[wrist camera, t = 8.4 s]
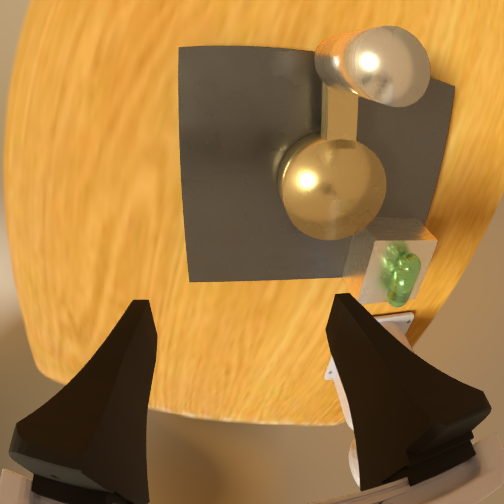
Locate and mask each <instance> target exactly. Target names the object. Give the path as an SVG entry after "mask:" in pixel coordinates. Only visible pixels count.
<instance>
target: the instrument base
mask: <svg viewBox="0 0 504 504" xmlns="http://www.w3.org/2000/svg"><path fill="white" fill-rule="evenodd" d="M314 56H315V52H312V51H304V50H295V49H284V48H272V47H254V46H193V47H179V64H178V95H179V140H180V165H181V184H182V200H183V215H184V228H185V240H186V251H187V262H188V272H189V282H225V281H261V280H290V279H315V278H336V277H342V278H343V280H344V282H345V284H346V286H347V288H348V290H349V292H350V294H351V295H352V296H353V297H354V298H355V299H356V300H357V301H358V302H359V303H360V304H369V303H380V302H388V303H389V304H390V305H391V306H393V307H401V306H403V305H405V304H406V303H407V301H408V299H415V298H416V295H417V293H418V291H419V288H420V286H421V284H422V281H423V279H424V276H425V274H426V271H427V269H428V266H429V264H430V261H431V259H432V256H433V253H434V251H435V248H436V245H437V242H438V240H437V239H436V238H435V237H434V236H433V234H432V233H431V232H430V231H429V230H428V229H427V228H426V227H425V222H426V219H427V216H428V212H429V209H430V206H431V202H432V198H433V195H434V191H435V187H436V183H437V179H438V175H439V171H440V167H441V163H442V158H443V154H444V149H445V144H446V139H447V134H448V129H449V123H450V117H451V111H452V104H453V97H454V89H455V86H452V85H450V84H447V83H444V82H441V81H438V80H435V79H432V78H430V80H429V84H428V87H427V89H426V91H425V93H424V94H423V96H422V97H421V98H420V99H419V100H418V101H416V102H415V103H413V104H411V105H409V106H405V107H392V106H388V105H385V104H382V103H379V102H376V101H373V100H369V99H366V98H363V97H359V96H358V117H357V135H356V140H357V141H358V142H360V143H362V144H363V145H365V146H366V147H368V148H369V149H370V150H371V151H373V152H374V153H375V155H376V156H377V157H378V158H379V160H380V161H381V163H382V165H383V168H384V171H385V175H386V194H385V198H384V201H383V204H382V206H381V208H380V210H379V212H378V213H377V215H376V216H375V218H374V219H373V220H372V221H371V222H370V223H369V224H368V225H367V226H366V227H365V228H363V229H362V230H360V231H359V232H357V233H355V234H354V235H351V236H349V237H346V238H343V239H338V240H320V239H316V238H313V237H310V236H308V235H306V234H304V233H303V232H302V231H300V230H299V229H298V228H297V227H296V226H295V225H294V224H293V222H292V221H291V220H290V218H289V216H288V214H287V212H286V209H285V207H284V205H283V202H282V200H281V197H280V195H279V191H278V173H279V168H280V165H281V163H282V161H283V159H284V157H285V155H286V154H287V152H288V151H289V150H290V149H291V148H292V147H293V146H294V145H295V144H296V143H297V142H298V141H300V140H301V139H303V138H304V137H307V136H309V135H311V134H314V133H317V132H321V124H322V80H321V79H320V77H319V76H318V74H317V72H316V69H315V65H314Z"/></svg>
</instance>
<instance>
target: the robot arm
mask: <svg viewBox="0 0 504 504" xmlns="http://www.w3.org/2000/svg"><path fill="white" fill-rule="evenodd" d="M413 319H414V314H413V313H412V312H408V313H401V314H393V315H385V316H376V317H373V316H372V315H371V314H370V313H369V312H368V311H367V310H366V309H365V308H364V307H363V306H362V305H361V304H360V303H359V302H358V301H357V300H356V299H355V298H354V297H353V296H352V295H351V294H350V293H343V294H335V298H334V301H333V305H332V309H331V312H330V316H329V319H328V323H327V326H326V334H327V339H328V343H329V347H330V352H331V355H332V356H331V359H330V361H329V364H328V367H327V369H326V372H325V375H324V378H325V379H326V380H330V379H333V380H334V384H335V387H336V390H337V394H338V397H339V400H340V403H341V407H342V410H343V414H344V417H345V420H346V422H347V424H348V425H349V427H350V428H351V429H352V430H353V431H354V434H355V439H354V440H353V441H352V443H351V447H350V450H349V464H350V468H351V472H352V474H353V477H354V479H355V481H356V483H357V484H358V486H359V487H360V490H361V492H358V493H354V494H350V495H346V496H342V497H338V498H333V499H329V500H324V501H318V502H313V503H307V504H477V503H479V502H480V501H481V500H483V499H484V498H486V497H487V496H488V495H490V494H491V493H493V492H494V491H496V490H497V489H498V488H500V487H501V486H502V485H504V449H503V447H502V444H501V442H500V440H499V438H498V435H497V433H493V434H491V435H489V436H488V437H486V438H484V439H482V440H480V441H479V442H477V443H475V444H474V445H473V444H472V442H473V441H472V439H473V438H474V436H473V433H472V430H473V429H474V428H475V427H476V426H477V425H478V424H480V423H481V422H482V421H483V420H484V419H485V418H486V417H487V416H488V415H489V413H490V412H491V406H490V404H489V402H488V400H487V398H486V396H485V394H484V392H483V391H481V390H478V389H476V388H474V387H471V386H469V385H466V384H464V383H462V382H460V381H458V380H456V379H454V378H452V377H450V376H448V375H447V374H445V373H443V372H441V371H440V370H438V369H436V368H435V367H433V366H432V365H430V364H428V363H427V362H426V361H424V360H423V359H421V358H420V357H419V356H417V355H416V354H415V353H414V351H413V349H412V348H411V346H410V344H409V342H408V340H407V338H406V336H405V334H406V332H407V331H408V329H409V327H410V325H411V323H412V321H413ZM156 351H157V332H156V328H155V324H154V320H153V316H152V312H151V308H150V303H149V300H133V301H132V302H131V304H130V305H129V307H128V308H127V310H126V311H125V313H124V314H123V316H122V317H121V319H120V320H119V321H118V323H117V324H116V326H115V327H114V329H113V330H112V331H111V333H110V334H109V336H108V337H107V338H106V340H105V341H104V343H103V344H102V345H101V346H100V348H99V349H98V350H97V351H96V353H95V354H94V355H93V357H92V358H91V359H90V360H89V361H88V363H87V364H86V365H85V366H84V367H83V368H82V369H81V370H80V372H79V373H78V374H77V375H76V376H75V377H74V378H73V379H72V380H71V381H70V382H69V383H68V384H67V385H66V386H65V387H64V388H63V389H62V390H60V391H59V392H58V393H57V394H56V395H55V396H53V397H52V398H51V399H50V400H49V401H48V402H46V403H45V404H44V405H43V406H41V407H40V408H39V409H37V410H36V411H34V412H33V413H32V414H30V415H28V416H27V417H26V418H24V419H22V420H21V421H19V422H18V423H17V424H16V427H15V429H14V433H13V437H12V440H11V445H10V449H9V455H10V457H11V458H12V459H13V460H14V461H15V462H17V463H18V464H20V465H21V466H23V467H24V468H26V469H27V470H29V471H30V472H32V473H33V474H34V477H33V480H32V479H30V478H27V477H25V476H23V475H20V474H17V473H15V472H12V471H9V470H7V469H5V468H4V469H3V470H2V475H1V480H0V504H148V503H149V502H150V501H149V492H148V480H147V462H146V423H147V410H148V402H149V396H150V390H151V384H152V379H153V373H154V367H155V362H156Z"/></svg>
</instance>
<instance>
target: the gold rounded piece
mask: <svg viewBox="0 0 504 504" xmlns="http://www.w3.org/2000/svg"><path fill="white" fill-rule="evenodd" d="M314 65H315V69H316V72H317V74H318V76H319V77H320V79H321V80H322V124H321V132H317V133H314V134H311V135H309V136H307V137H304V138H303V139H301V140H300V141H298V142H297V143H296V144H295V145H294V146H293V147H292V148H291V149H290V150H289V151H288V152H287V154H286V155H285V157H284V159H283V161H282V163H281V165H280V168H279V173H278V191H279V195H280V197H281V200H282V202H283V205H284V207H285V209H286V212H287V214H288V216H289V218H290V220H291V221H292V222H293V224H294V225H295V226H296V227H297V228H298V229H299V230H300V231H302V232H303V233H304V234H306V235H308V236H310V237H313V238H316V239H320V240H338V239H343V238H346V237H349V236H351V235H354V234H355V233H357V232H359V231H360V230H362V229H363V228H365V227H366V226H367V225H368V224H369V223H370V222H371V221H372V220H373V219H374V218H375V216H376V215H377V213H378V212H379V210H380V208H381V206H382V204H383V201H384V198H385V194H386V175H385V171H384V168H383V165H382V163H381V161H380V160H379V158H378V157H377V156H376V155H375V153H374V152H373V151H371V150H370V149H369V148H368V147H366V146H365V145H363V144H362V143H360V142H358V141H357V140H356V135H357V117H358V96H359V97H363V98H366V99H369V100H373V101H376V102H379V103H382V104H385V105H388V106H392V107H405V106H409V105H411V104H413V103H415V102H416V101H418V100H419V99H420V98H421V97H422V96H423V94H424V93H425V91H426V89H427V87H428V84H429V80H430V63H429V58H428V56H427V53H426V51H425V49H424V47H423V46H422V44H421V43H420V42H419V40H418V39H417V38H416V37H415V36H414V35H412V34H411V33H410V32H408V31H406V30H404V29H402V28H399V27H395V26H382V27H375V28H369V29H363V30H358V31H352V32H347V33H343V34H338V35H333V36H330V37H328V38H326V39H325V40H323V41H322V42H321V43H320V45H319V46H318V48H317V49H316V52H315V56H314Z"/></svg>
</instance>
